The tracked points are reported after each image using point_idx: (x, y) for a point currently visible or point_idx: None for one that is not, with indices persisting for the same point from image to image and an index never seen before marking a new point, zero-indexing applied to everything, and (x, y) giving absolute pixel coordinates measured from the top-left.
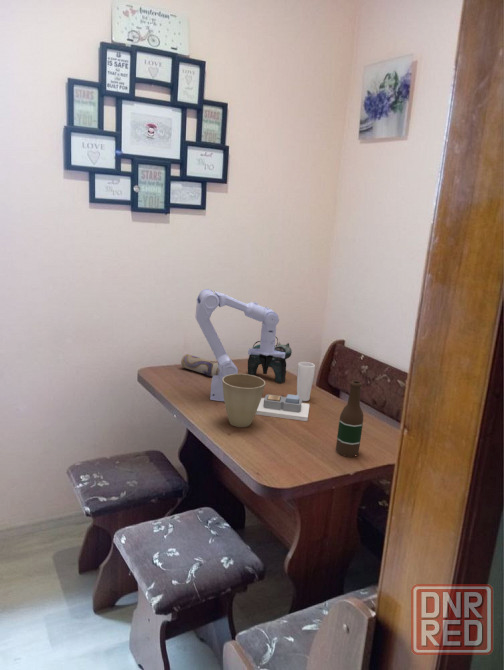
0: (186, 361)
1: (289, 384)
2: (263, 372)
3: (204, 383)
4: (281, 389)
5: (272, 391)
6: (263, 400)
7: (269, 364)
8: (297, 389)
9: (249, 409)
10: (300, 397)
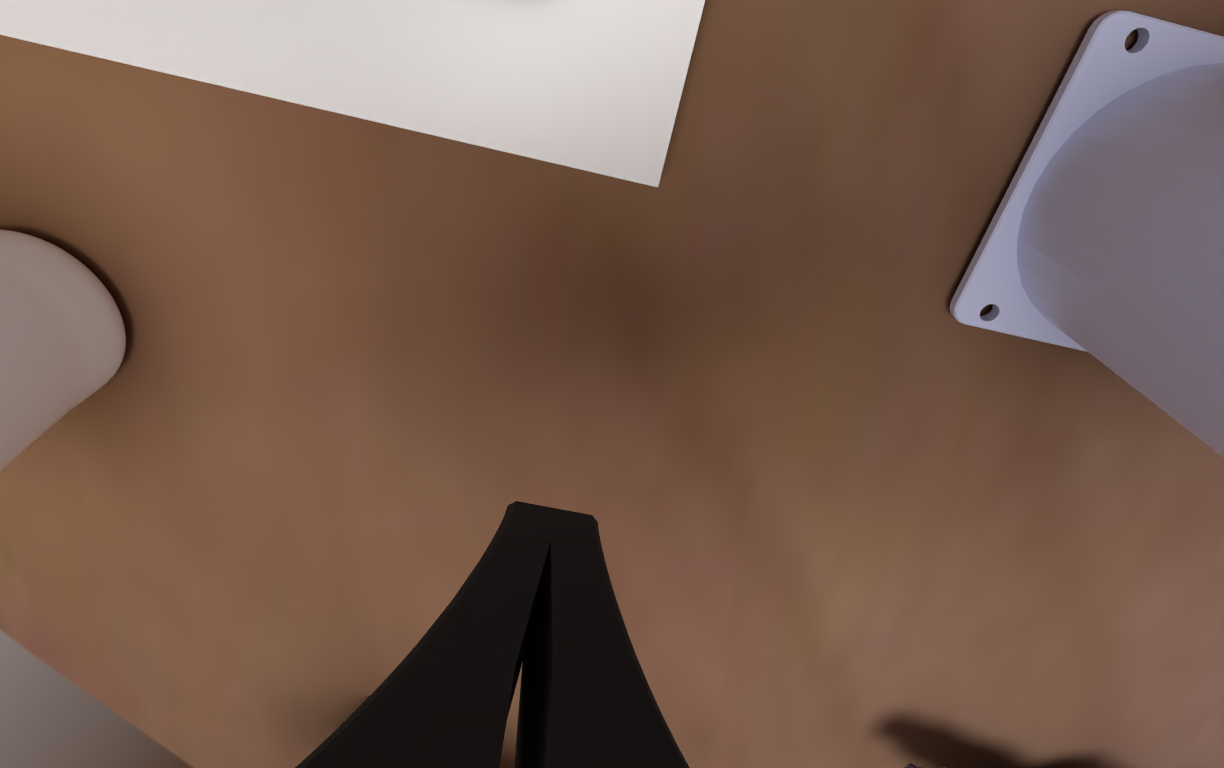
0: None
1: (284, 689)
2: (588, 531)
3: (1210, 636)
4: (354, 572)
5: (455, 512)
6: (595, 42)
7: (345, 725)
8: (5, 354)
9: None
10: (18, 257)
